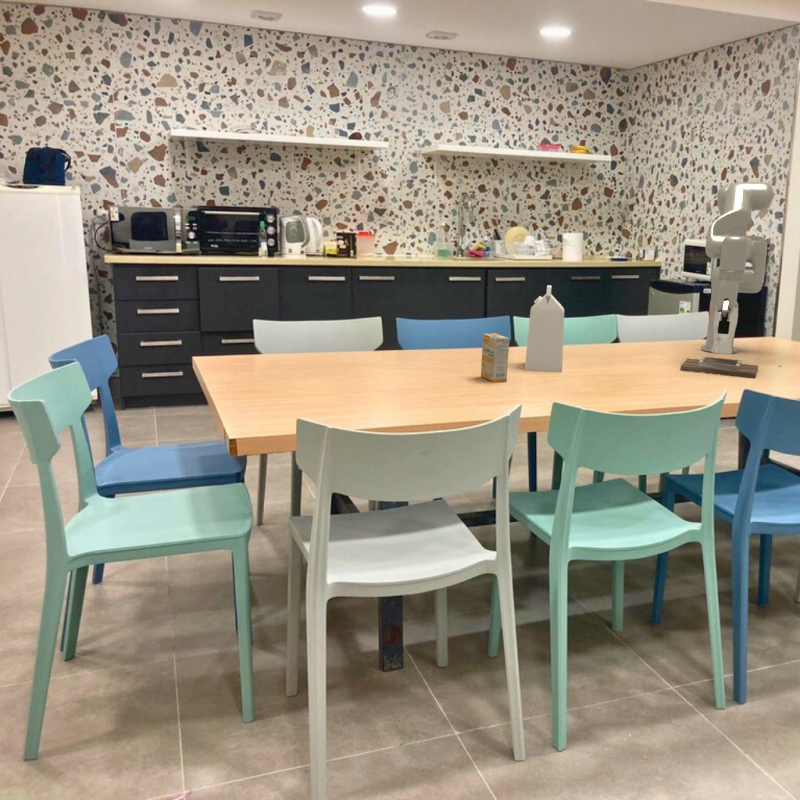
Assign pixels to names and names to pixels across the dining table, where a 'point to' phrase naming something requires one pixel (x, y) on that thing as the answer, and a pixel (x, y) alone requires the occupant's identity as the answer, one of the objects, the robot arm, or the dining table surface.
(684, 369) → the walnut board
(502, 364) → the supplement box
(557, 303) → the milk
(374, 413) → the dining table surface
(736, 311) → the beer glass
